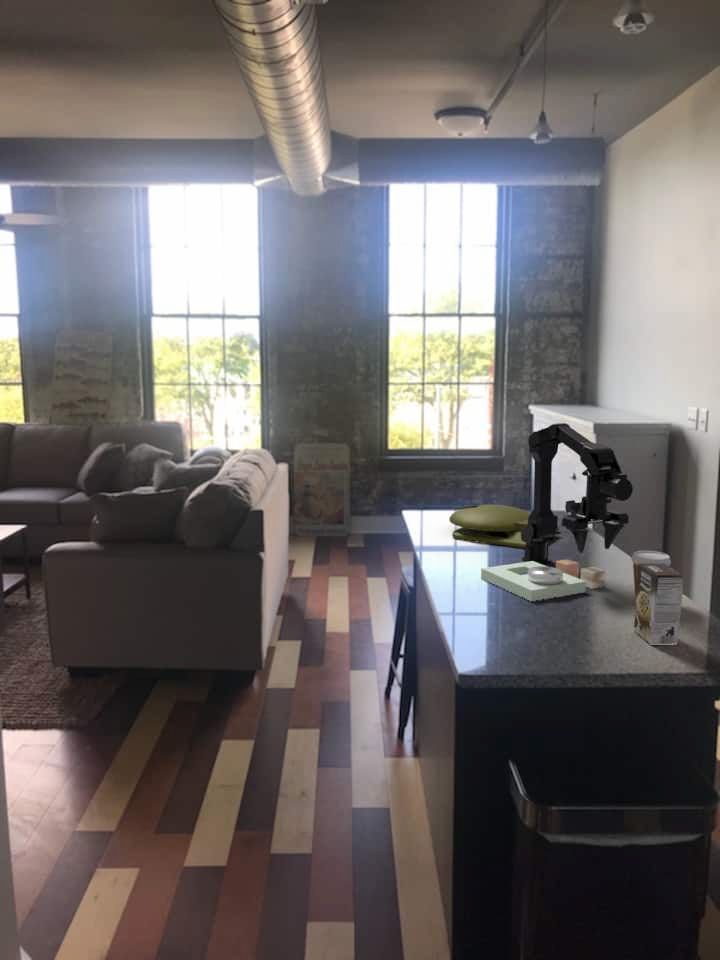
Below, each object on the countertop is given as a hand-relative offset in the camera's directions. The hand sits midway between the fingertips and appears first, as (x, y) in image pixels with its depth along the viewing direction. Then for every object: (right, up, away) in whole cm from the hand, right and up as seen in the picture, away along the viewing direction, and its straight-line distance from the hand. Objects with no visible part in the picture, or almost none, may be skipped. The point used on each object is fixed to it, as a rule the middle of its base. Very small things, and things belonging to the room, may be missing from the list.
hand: (593, 550), depth 206 cm
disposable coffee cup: (+11, -12, -11) cm, 19 cm away
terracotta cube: (-5, -8, +9) cm, 13 cm away
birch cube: (0, -10, +2) cm, 10 cm away
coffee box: (+2, -16, -37) cm, 40 cm away
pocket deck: (-17, -10, +1) cm, 19 cm away
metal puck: (-14, -7, -4) cm, 17 cm away
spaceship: (-15, 0, +60) cm, 62 cm away
